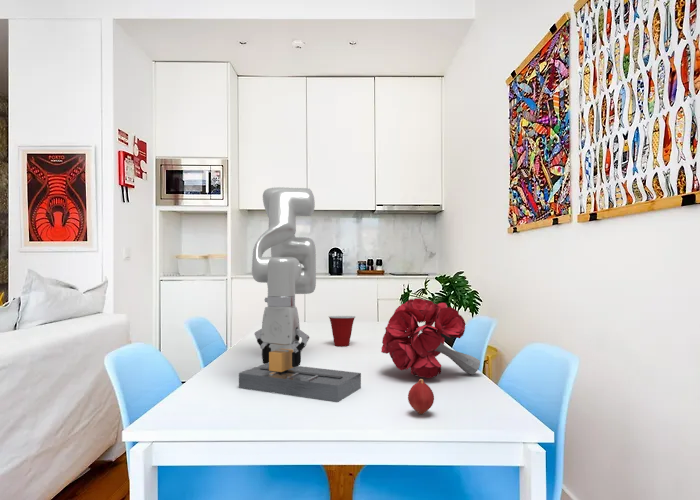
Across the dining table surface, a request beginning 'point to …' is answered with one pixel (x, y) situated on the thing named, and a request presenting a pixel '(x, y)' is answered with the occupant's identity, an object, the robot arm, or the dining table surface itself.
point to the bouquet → (425, 338)
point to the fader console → (302, 382)
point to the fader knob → (280, 360)
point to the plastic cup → (341, 329)
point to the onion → (421, 397)
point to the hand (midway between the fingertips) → (281, 364)
